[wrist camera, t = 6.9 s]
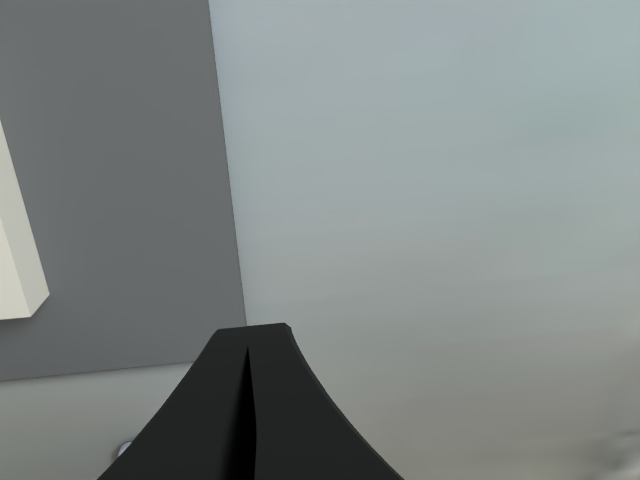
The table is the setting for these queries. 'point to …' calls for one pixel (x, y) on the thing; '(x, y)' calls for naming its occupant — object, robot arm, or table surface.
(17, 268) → the card box
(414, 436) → the table surface
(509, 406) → the table surface
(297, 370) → the robot arm
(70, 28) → the desk mat
